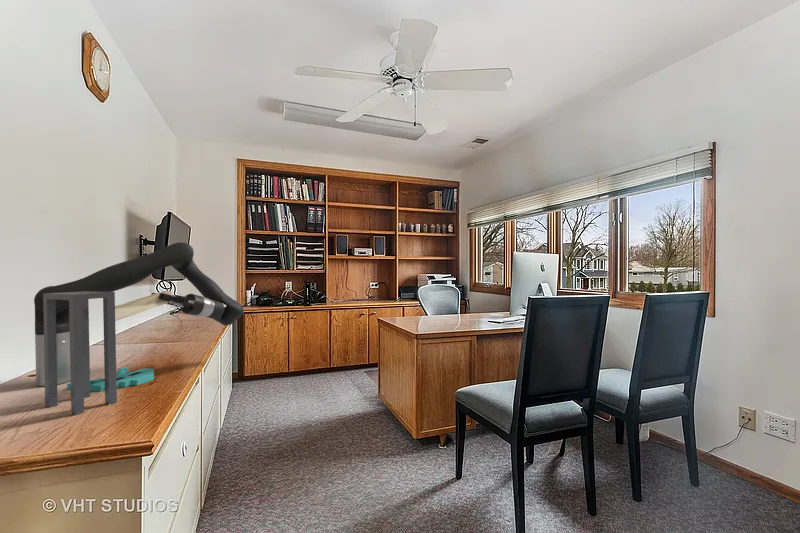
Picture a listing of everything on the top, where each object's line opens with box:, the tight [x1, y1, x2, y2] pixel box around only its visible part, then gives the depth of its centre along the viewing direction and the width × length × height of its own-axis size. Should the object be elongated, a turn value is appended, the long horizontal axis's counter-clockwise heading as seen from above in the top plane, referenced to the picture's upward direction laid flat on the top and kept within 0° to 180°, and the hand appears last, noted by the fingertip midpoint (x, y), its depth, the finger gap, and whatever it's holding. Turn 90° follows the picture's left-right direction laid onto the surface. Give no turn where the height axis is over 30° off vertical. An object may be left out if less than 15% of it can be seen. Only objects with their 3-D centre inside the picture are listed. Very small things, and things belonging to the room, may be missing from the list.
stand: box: [43, 291, 118, 416], centre depth 109 cm, size 16×10×32 cm, turn 64°
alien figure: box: [66, 367, 155, 392], centre depth 131 cm, size 20×2×20 cm
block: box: [115, 290, 173, 322], centre depth 125 cm, size 4×20×4 cm, turn 158°
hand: (155, 295), depth 129 cm, fingers closed on block, 3 cm apart
